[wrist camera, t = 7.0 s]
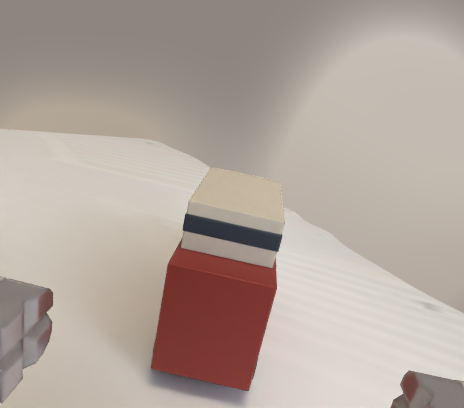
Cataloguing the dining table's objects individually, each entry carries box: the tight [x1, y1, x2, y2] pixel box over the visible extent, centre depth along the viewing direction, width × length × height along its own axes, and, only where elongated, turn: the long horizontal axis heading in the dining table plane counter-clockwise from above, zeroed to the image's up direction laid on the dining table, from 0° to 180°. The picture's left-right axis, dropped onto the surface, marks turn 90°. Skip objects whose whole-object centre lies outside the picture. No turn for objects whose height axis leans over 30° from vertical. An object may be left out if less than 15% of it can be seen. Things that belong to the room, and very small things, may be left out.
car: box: [151, 167, 285, 391], centre depth 24 cm, size 13×5×10 cm, turn 175°
